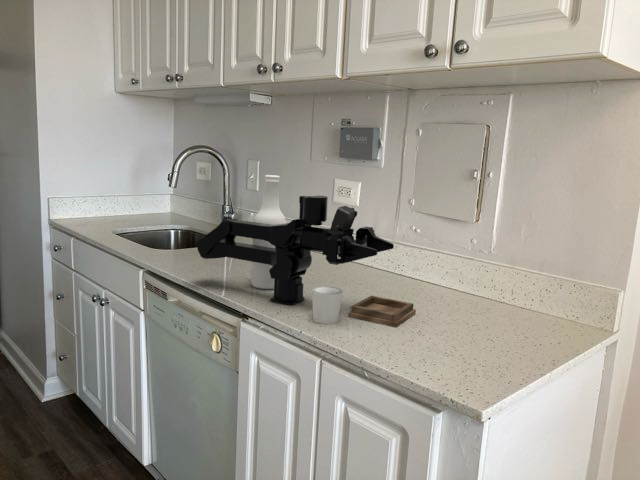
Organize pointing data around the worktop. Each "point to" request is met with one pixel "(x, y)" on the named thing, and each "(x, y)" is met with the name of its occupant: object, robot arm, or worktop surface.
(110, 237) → the worktop surface
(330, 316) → the white cup
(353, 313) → the walnut holder
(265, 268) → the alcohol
